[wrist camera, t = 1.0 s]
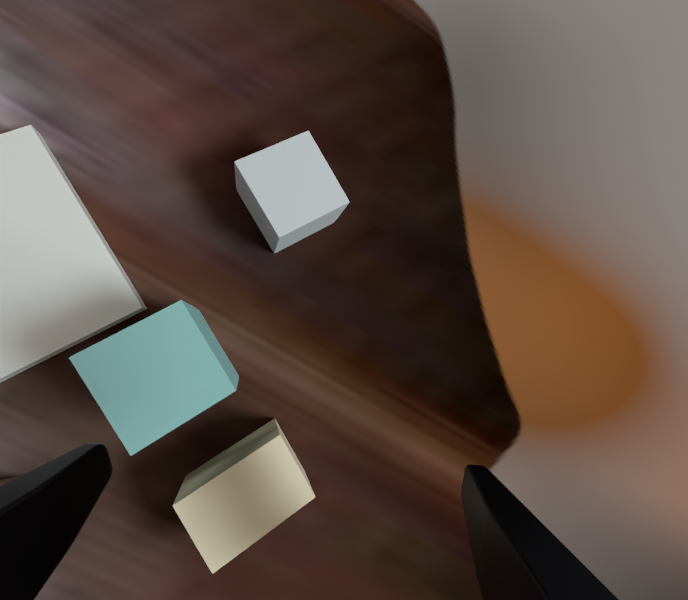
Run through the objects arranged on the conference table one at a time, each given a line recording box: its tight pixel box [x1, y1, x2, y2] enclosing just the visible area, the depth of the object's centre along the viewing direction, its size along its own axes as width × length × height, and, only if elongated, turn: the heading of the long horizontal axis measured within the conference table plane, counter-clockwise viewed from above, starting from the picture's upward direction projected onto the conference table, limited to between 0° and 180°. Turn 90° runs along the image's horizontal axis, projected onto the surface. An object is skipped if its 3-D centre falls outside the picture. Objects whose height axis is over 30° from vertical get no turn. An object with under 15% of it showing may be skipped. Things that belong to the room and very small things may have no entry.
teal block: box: [69, 300, 239, 456], centre depth 18 cm, size 5×5×6 cm
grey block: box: [234, 131, 349, 253], centre depth 22 cm, size 5×5×4 cm
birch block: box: [172, 419, 315, 574], centre depth 20 cm, size 6×4×4 cm, turn 120°
